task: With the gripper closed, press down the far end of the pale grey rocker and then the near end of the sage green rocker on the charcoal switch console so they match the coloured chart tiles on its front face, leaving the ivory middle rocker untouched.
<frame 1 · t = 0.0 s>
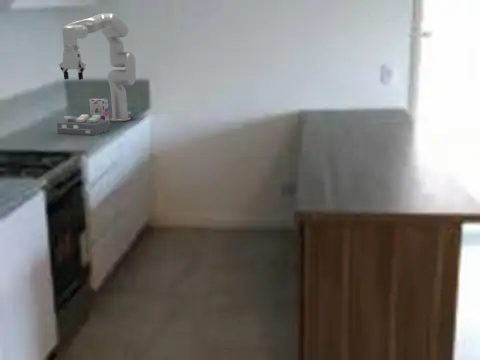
hand: (73, 79, 396), 31 cm above the worktop, tool pointing down, fingers open, 9 cm apart
console: (83, 131, 408), on the worktop
rocker grey: (71, 117, 409), point 8 cm above the worktop, hinge at -15.0°
candy bar box: (100, 126, 426), on the worktop
rocker ivory: (82, 118, 406), point 8 cm above the worktop, hinge at 15.0°
rocker sage: (94, 118, 403), point 8 cm above the worktop, hinge at 15.0°
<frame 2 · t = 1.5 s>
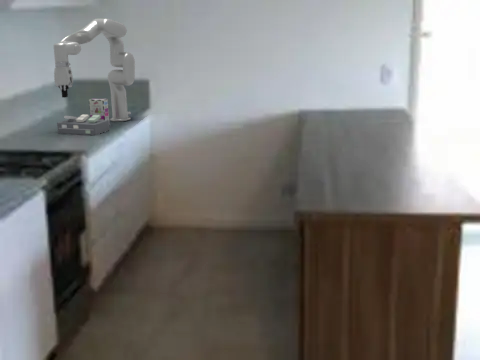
hand: (65, 97, 403), 21 cm above the worktop, tool pointing down, fingers closed
nothing on the worktop moved.
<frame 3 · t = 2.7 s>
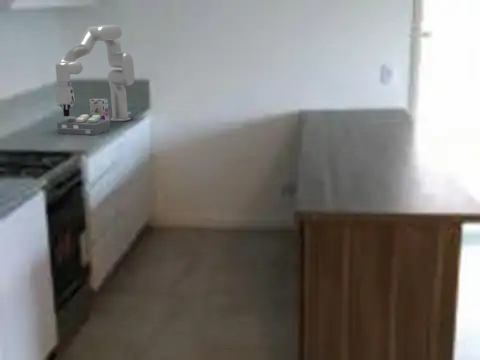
hand: (66, 116, 405), 10 cm above the worktop, tool pointing down, fingers closed
rocker grey: (71, 117, 409), point 8 cm above the worktop, hinge at -15.0°, touching gripper
everything else where it was.
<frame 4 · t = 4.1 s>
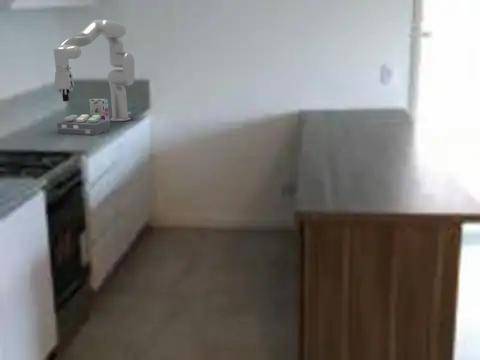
hand: (66, 100, 404), 18 cm above the worktop, tool pointing down, fingers closed
rocker grey: (71, 117, 409), point 8 cm above the worktop, hinge at 4.0°
everything else where it was.
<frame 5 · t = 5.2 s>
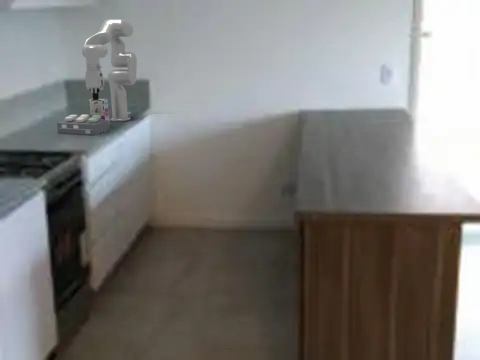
hand: (95, 99, 403), 18 cm above the worktop, tool pointing down, fingers closed
rocker grey: (71, 117, 409), point 8 cm above the worktop, hinge at 7.6°
everything else where it was.
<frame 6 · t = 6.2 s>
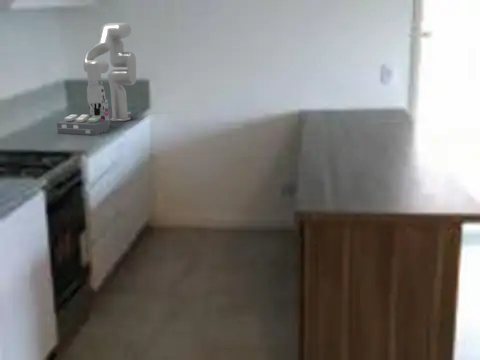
hand: (97, 115, 406), 10 cm above the worktop, tool pointing down, fingers closed
rocker grey: (71, 117, 409), point 8 cm above the worktop, hinge at 8.6°
rocker sage: (94, 118, 403), point 8 cm above the worktop, hinge at 14.9°, touching gripper
everything else where it was.
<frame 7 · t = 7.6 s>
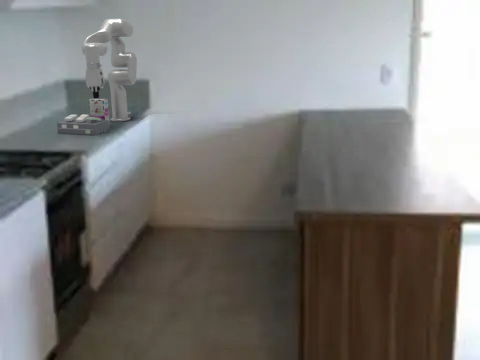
hand: (96, 98, 404), 19 cm above the worktop, tool pointing down, fingers closed
rocker grey: (71, 117, 409), point 8 cm above the worktop, hinge at 8.9°
rocker sage: (94, 118, 403), point 8 cm above the worktop, hinge at -16.2°
everything else where it was.
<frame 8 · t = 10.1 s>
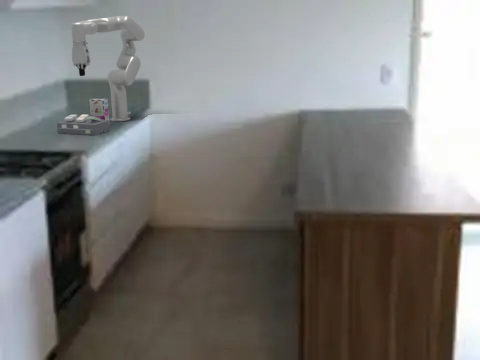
hand: (82, 75, 413), 31 cm above the worktop, tool pointing down, fingers closed
rocker sage: (94, 118, 403), point 8 cm above the worktop, hinge at -20.9°
everything else where it was.
at the end: rocker grey at +9° (first picture: -15°); rocker sage at -21° (first picture: +15°); rocker ivory at +15° (first picture: +15°) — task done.
